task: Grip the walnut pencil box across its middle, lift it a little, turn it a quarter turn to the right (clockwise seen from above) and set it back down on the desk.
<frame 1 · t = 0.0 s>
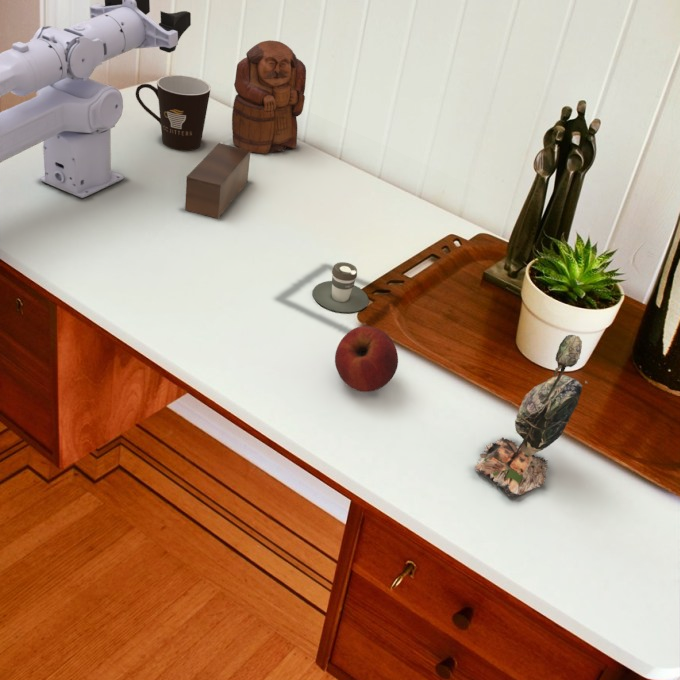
hand: (168, 11, 135), 22 cm above the table, tool horizontal, fingers open, 7 cm apart
pencil box: (230, 180, 142), on the table
coffee cup: (339, 299, 120), on the table
apple: (360, 385, 106), on the table
coffee mug: (175, 140, 151), on the table
plant with pod: (516, 467, 99), on the table
wooden figurine: (265, 146, 155), on the table
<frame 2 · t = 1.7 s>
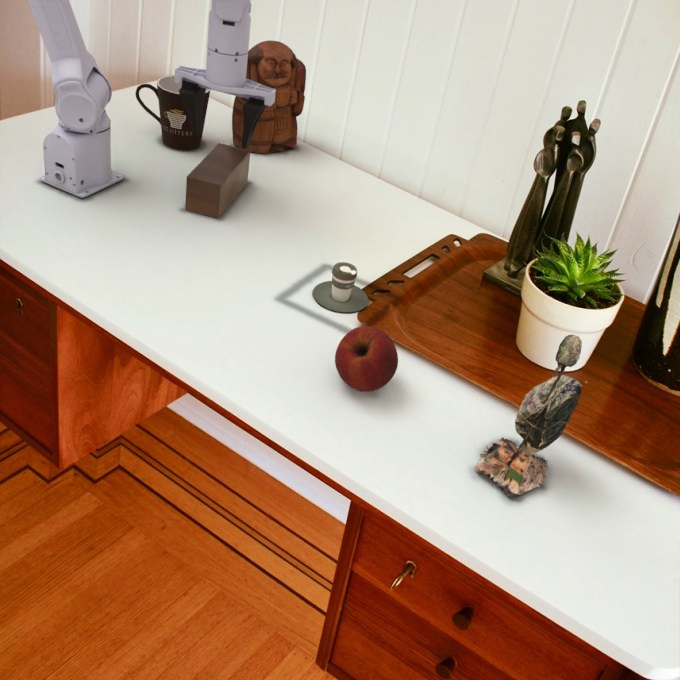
hand: (221, 140, 132), 9 cm above the table, tool pointing down, fingers open, 7 cm apart
nothing on the table moved.
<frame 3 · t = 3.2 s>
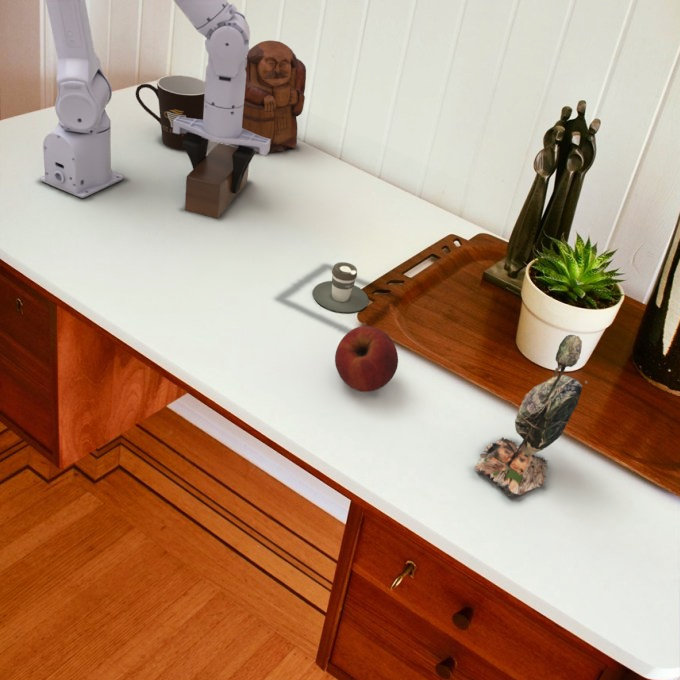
hand: (218, 186, 136), 2 cm above the table, tool pointing down, fingers closed on pencil box, 5 cm apart
pencil box: (229, 180, 142), on the table, touching gripper
everything else where it was.
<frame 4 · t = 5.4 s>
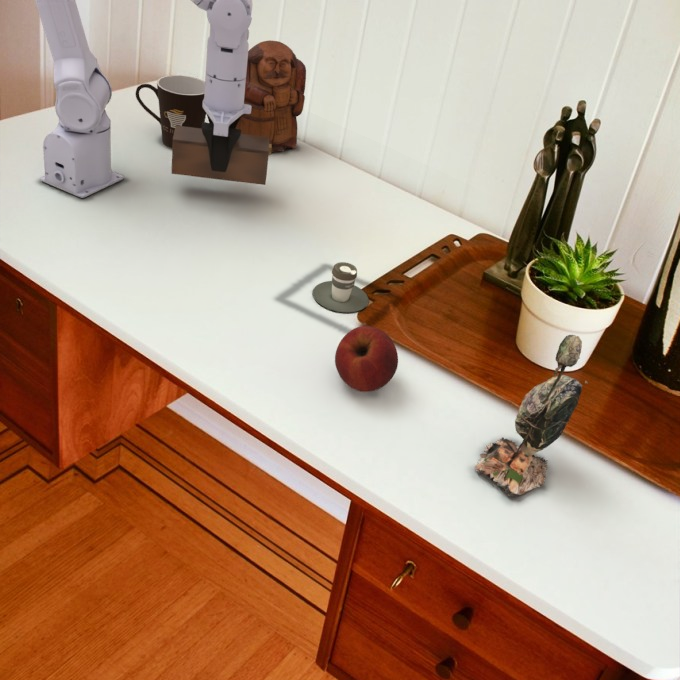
hand: (219, 162, 134), 6 cm above the table, tool pointing down, fingers closed on pencil box, 5 cm apart
pencil box: (259, 176, 136), point 4 cm above the table, touching gripper
everything else where it was.
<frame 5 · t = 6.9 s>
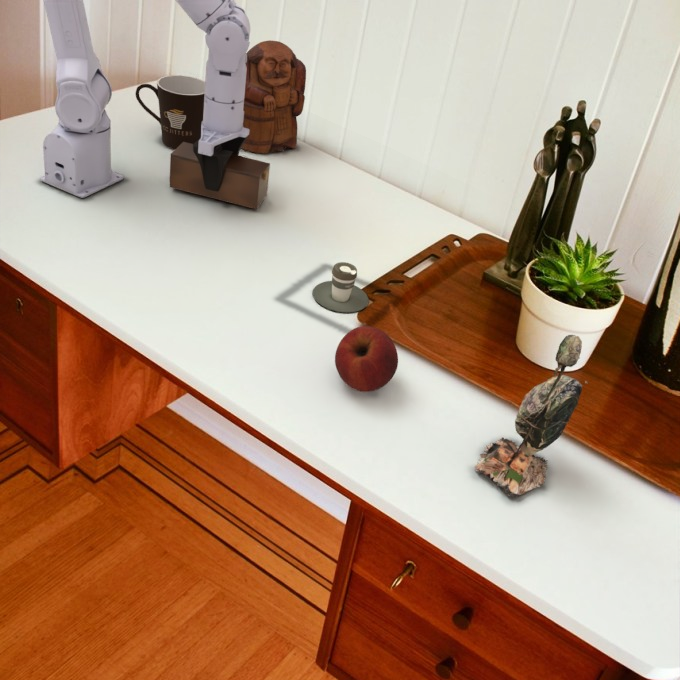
hand: (218, 182, 136), 2 cm above the table, tool pointing down, fingers closed on pencil box, 5 cm apart
pencil box: (255, 200, 136), point 1 cm above the table, touching gripper
everything else where it was.
when the fingers open (2 cm above the table, at t = 7.6 s): pencil box stays where it is, on the table.
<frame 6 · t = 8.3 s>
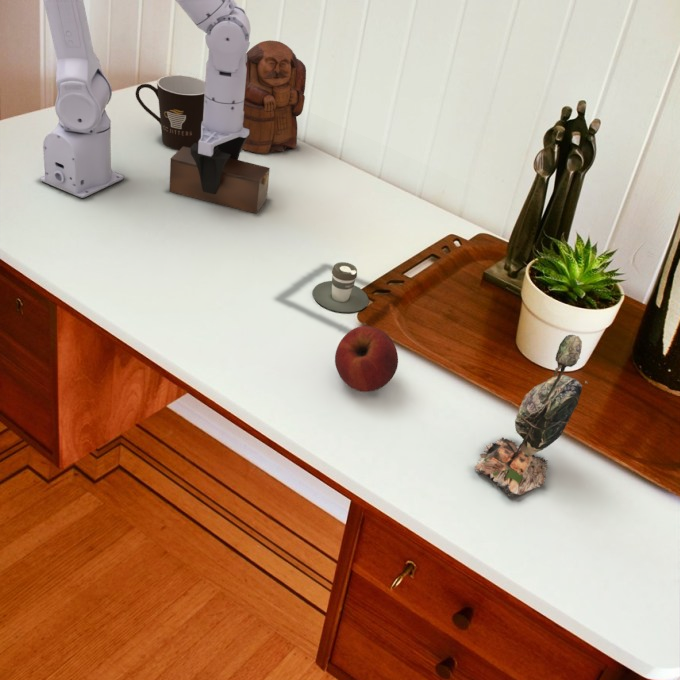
hand: (218, 182, 136), 2 cm above the table, tool pointing down, fingers open, 7 cm apart
pencil box: (255, 205, 137), on the table
everything else where it was.
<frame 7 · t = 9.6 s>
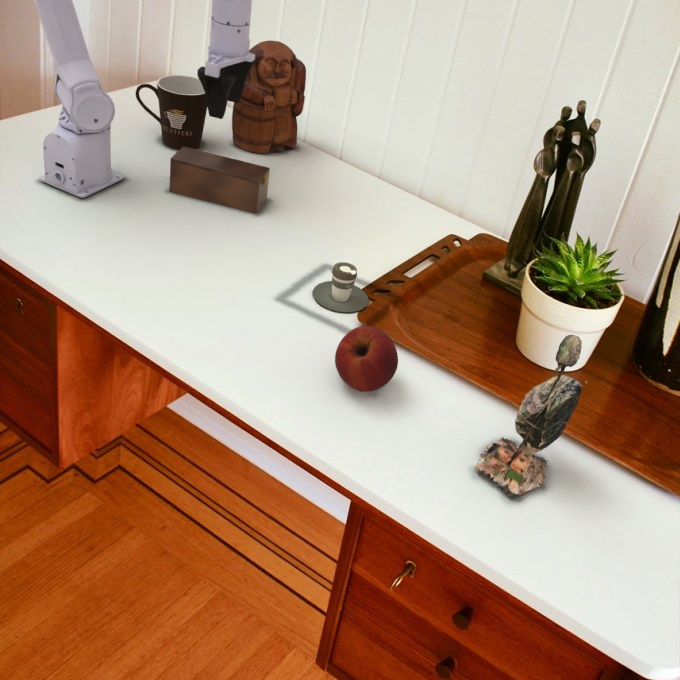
hand: (224, 108, 138), 10 cm above the table, tool pointing down, fingers open, 7 cm apart
nothing on the table moved.
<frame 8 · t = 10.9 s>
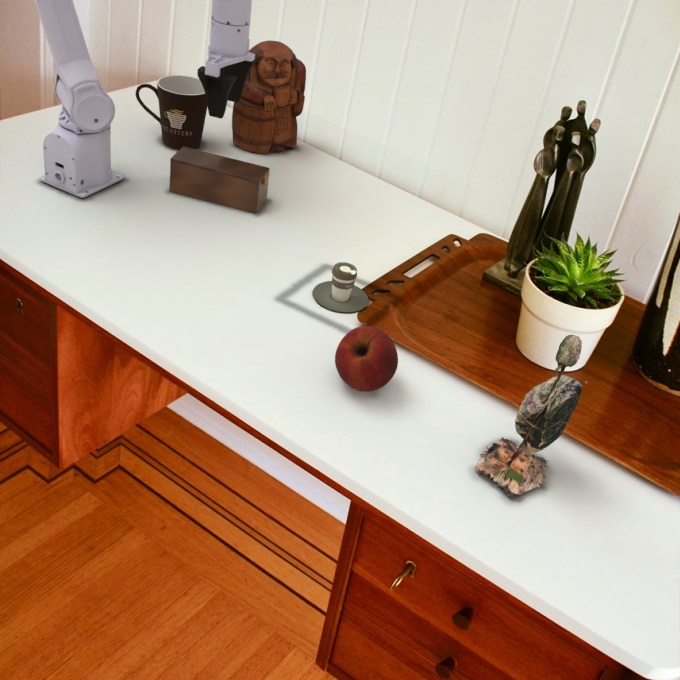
hand: (224, 108, 138), 10 cm above the table, tool pointing down, fingers open, 7 cm apart
nothing on the table moved.
at the end: pencil box 0.1 cm from the target spot, on the table; pencil box tilted 0°; the gripper is holding nothing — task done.
